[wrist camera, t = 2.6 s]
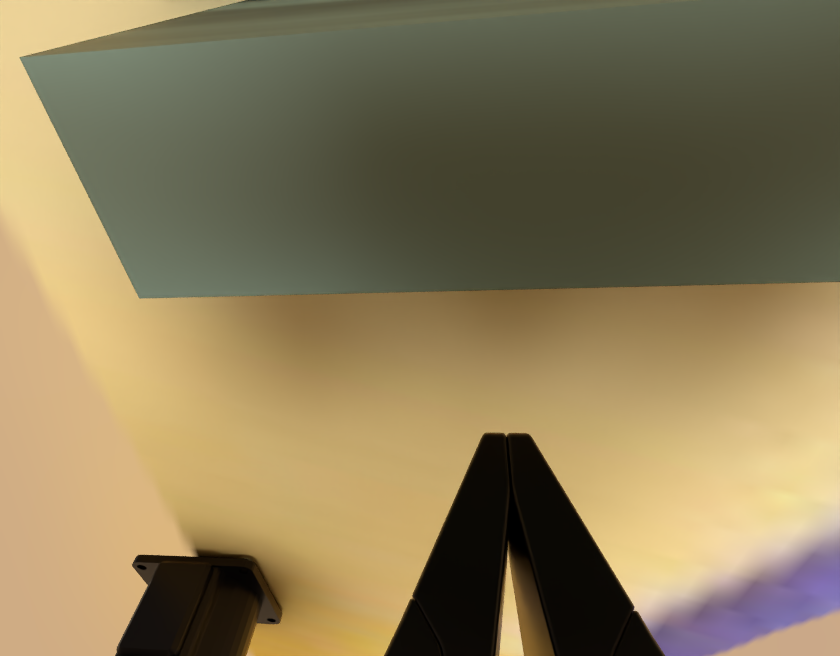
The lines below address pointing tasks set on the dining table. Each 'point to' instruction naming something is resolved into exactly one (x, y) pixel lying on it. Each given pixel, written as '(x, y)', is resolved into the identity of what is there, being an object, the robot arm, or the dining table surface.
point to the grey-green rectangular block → (459, 144)
